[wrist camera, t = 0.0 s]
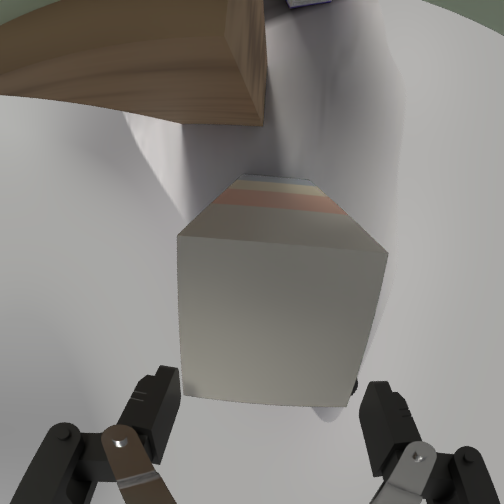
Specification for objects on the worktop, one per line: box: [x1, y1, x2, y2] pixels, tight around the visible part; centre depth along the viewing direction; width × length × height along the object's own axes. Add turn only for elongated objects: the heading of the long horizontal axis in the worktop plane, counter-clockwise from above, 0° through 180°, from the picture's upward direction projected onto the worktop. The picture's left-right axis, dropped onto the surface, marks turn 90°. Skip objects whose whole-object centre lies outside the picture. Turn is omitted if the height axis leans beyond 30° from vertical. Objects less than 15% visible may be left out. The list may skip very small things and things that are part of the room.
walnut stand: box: [0, 0, 267, 127], centre depth 20 cm, size 8×10×32 cm
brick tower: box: [177, 174, 388, 407], centre depth 26 cm, size 8×8×28 cm
